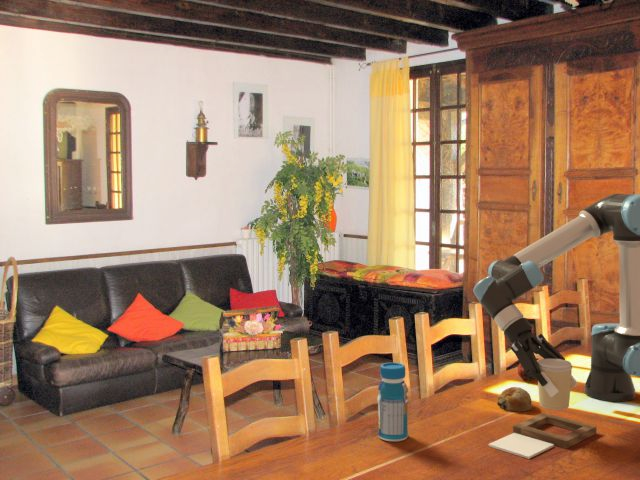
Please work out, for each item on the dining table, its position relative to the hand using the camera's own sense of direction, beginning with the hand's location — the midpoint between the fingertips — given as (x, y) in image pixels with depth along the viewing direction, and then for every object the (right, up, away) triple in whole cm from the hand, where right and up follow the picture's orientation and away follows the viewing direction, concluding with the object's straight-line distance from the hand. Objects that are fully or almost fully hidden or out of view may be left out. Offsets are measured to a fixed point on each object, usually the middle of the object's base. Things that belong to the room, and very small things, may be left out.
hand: (564, 390), depth 199 cm
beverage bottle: (-46, -13, +2) cm, 48 cm away
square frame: (-2, -13, +4) cm, 13 cm away
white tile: (-13, -14, -6) cm, 20 cm away
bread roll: (-7, -11, +26) cm, 29 cm away
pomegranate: (+6, -8, +55) cm, 56 cm away
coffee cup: (-2, -5, +3) cm, 6 cm away
